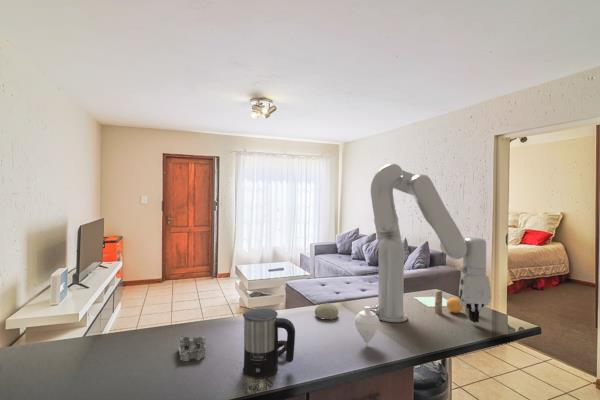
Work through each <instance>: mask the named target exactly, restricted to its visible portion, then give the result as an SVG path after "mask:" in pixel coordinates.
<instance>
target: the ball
mask: <svg viewBox="0 0 600 400" xmlns="http://www.w3.org/2000/svg"><path fill="white" fill-rule="evenodd" d="M447 300H448V301H447V307H446V308H447V310H448V311H449V312H452V313H455V314H456V313H460V312H462V310H463V307H464V306H462V305H460V299H459V297H458V298H457V297H451V298H448V299H447Z"/></svg>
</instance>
